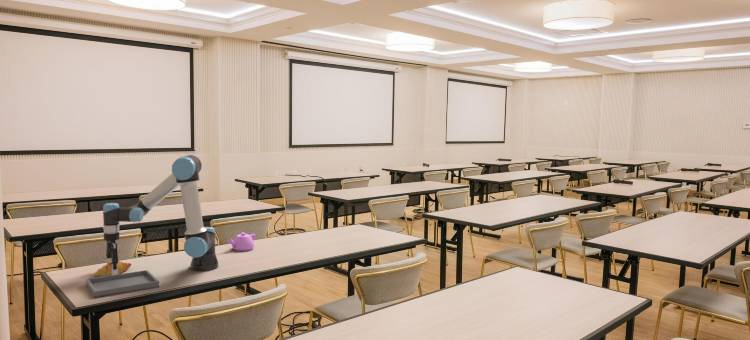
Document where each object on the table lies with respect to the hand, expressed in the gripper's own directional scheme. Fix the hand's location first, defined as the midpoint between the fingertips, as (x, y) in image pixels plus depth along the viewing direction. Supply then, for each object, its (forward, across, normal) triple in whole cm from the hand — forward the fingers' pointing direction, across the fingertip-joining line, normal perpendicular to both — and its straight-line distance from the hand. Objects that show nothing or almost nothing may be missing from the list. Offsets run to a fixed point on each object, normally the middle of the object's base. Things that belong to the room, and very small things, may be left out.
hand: (112, 272), depth 280 cm
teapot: (+1, -12, +79) cm, 80 cm away
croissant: (+1, 0, 0) cm, 1 cm away
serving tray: (+1, +24, 0) cm, 24 cm away
